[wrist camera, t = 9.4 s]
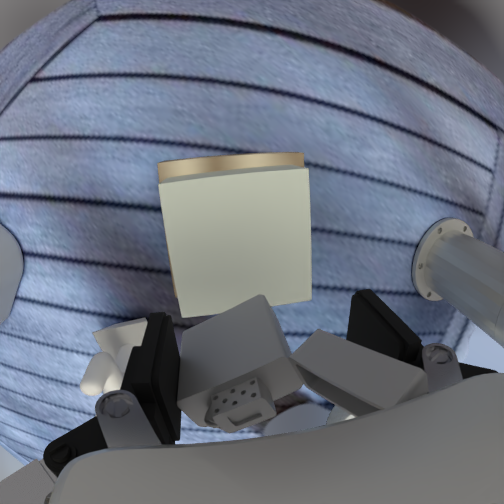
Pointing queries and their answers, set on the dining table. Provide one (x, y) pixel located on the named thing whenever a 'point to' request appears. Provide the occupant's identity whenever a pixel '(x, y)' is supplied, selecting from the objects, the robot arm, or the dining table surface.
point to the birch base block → (224, 167)
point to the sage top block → (238, 237)
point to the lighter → (280, 370)
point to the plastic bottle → (9, 271)
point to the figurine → (112, 356)
